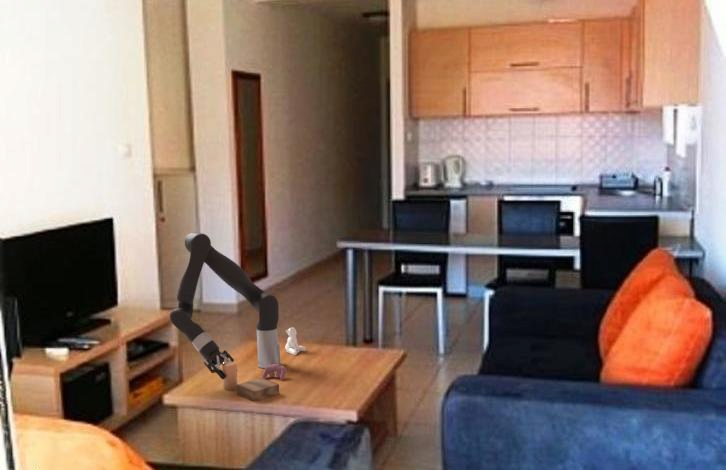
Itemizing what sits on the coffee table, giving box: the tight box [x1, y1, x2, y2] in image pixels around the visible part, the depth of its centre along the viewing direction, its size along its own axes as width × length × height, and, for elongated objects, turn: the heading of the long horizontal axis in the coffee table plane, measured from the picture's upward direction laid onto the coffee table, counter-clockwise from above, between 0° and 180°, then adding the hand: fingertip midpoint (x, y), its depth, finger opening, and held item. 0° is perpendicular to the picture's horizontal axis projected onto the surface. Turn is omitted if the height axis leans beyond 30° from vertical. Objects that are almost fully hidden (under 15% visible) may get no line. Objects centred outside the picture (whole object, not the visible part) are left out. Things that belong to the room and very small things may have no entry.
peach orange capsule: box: [221, 361, 238, 391], centre depth 310 cm, size 6×6×10 cm
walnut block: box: [236, 377, 280, 402], centre depth 302 cm, size 12×12×4 cm
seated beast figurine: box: [284, 327, 306, 356], centre depth 359 cm, size 10×9×12 cm
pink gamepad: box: [261, 364, 287, 381], centre depth 322 cm, size 10×5×7 cm, turn 72°
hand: (230, 374), depth 310 cm, fingers open, 8 cm apart
